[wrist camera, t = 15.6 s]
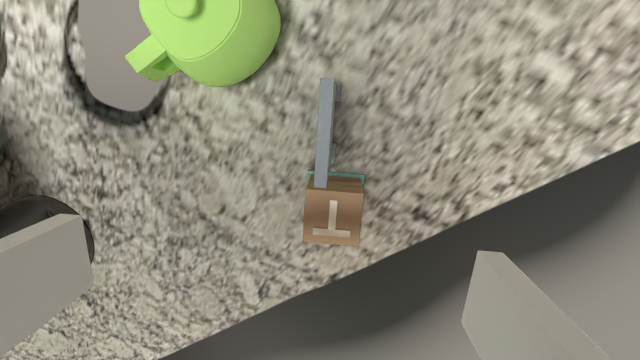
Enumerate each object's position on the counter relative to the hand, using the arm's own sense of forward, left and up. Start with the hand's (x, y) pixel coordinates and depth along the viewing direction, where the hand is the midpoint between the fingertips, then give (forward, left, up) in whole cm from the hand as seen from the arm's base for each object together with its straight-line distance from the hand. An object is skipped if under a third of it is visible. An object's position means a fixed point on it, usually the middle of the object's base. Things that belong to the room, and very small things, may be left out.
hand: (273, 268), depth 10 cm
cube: (+2, -9, -32) cm, 34 cm away
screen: (0, +2, -33) cm, 33 cm away
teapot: (-13, +13, -33) cm, 38 cm away
